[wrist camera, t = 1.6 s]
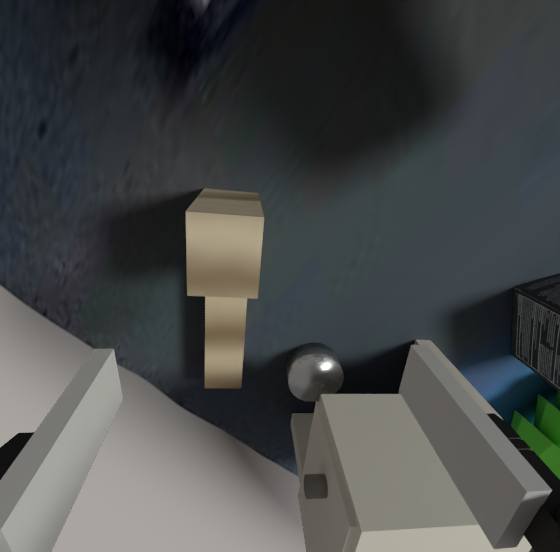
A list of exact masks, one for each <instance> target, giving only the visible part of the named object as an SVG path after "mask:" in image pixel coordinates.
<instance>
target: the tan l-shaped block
mask: <svg viewBox="0 0 560 552" xmlns="http://www.w3.org/2000/svg"><path fill="white" fill-rule="evenodd" d="M263 226H264V215H263V211H262V207H261V202H260V198H259V194H258V193H252V192H241V191H229V190H217V189H206V188H204V189H203V190H202V192H201V193H200V194H199V195H198V197H197V198H196V199H195V200H194V202H193V203H192V204H191V205H190V207H189V208H188V209H187V210H186V259H187V296H205V388H241V384H242V369H243V354H244V339H245V323H246V308H247V298H257V299H258V288H259V276H260V263H261V251H262V238H263Z"/></svg>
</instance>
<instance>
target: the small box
mask: <svg viewBox="0 0 560 552" xmlns="http://www.w3.org/2000/svg"><path fill="white" fill-rule="evenodd" d="M511 355H513V356H514V357H515V358H517V359H518V360H519V361H521V362H522V363H524V364H525V365H526V366H528V367H529V368H530V369H532V370H533V371H534V372H535V373H537V374H538V375H539V376H540V377H542V378H543V379H544V380H546V381H547V382H548V383H549V384H550V385H552V386H553V387H554V388H556V389H557V390H558V391H560V274H557V275H553V276H550V277H547V278H543V279H540V280H536V281H533V282H530V283H526V284H523V285H519V286H516V287H515V288H514V295H513V318H512V342H511Z"/></svg>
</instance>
